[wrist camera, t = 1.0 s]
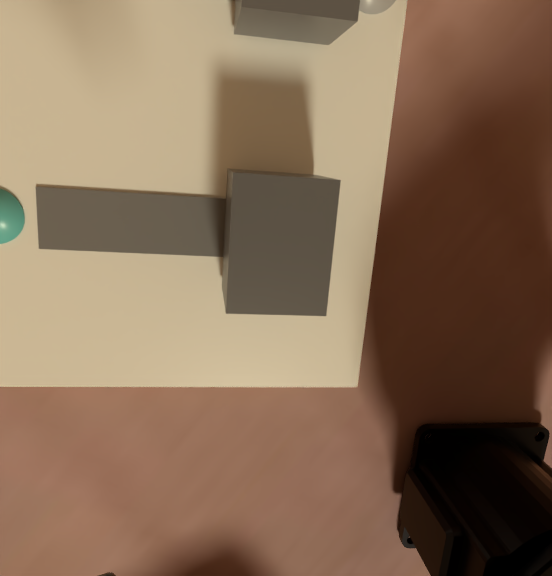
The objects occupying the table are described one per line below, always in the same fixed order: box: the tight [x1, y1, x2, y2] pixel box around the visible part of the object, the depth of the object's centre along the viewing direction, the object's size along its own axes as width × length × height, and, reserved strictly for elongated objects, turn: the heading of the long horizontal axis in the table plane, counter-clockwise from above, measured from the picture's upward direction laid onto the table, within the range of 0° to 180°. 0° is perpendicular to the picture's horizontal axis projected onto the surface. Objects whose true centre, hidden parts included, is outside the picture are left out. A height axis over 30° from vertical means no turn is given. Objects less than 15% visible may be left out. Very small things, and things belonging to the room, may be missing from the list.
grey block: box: [222, 168, 341, 316], centre depth 15 cm, size 3×4×3 cm
